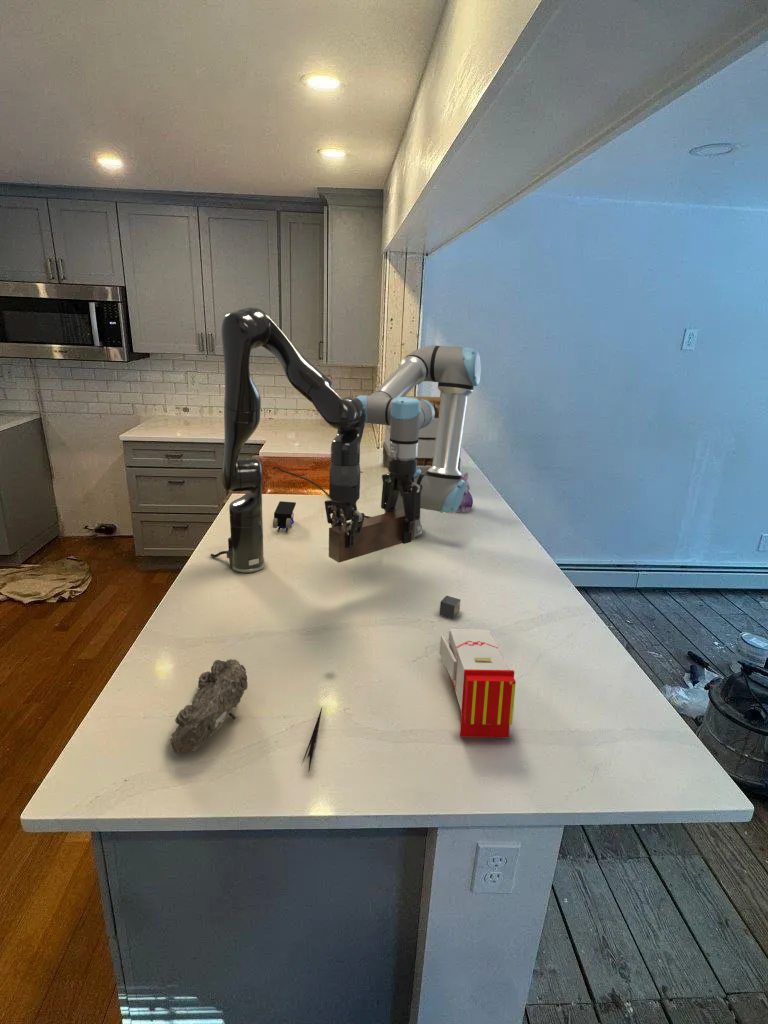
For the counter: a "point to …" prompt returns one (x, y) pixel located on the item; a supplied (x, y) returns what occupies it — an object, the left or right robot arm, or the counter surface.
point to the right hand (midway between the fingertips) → (398, 538)
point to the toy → (479, 682)
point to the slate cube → (449, 607)
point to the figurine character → (284, 515)
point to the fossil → (210, 704)
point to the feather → (313, 740)
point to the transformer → (420, 438)
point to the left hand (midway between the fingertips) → (343, 544)
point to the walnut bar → (368, 536)
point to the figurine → (465, 497)
